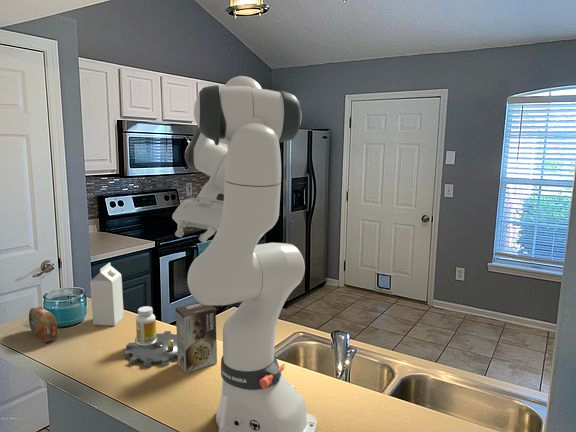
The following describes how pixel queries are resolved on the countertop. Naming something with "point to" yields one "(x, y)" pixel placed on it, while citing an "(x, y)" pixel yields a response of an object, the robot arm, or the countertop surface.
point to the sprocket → (153, 350)
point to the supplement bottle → (145, 325)
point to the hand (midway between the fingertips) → (189, 238)
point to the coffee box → (196, 336)
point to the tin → (43, 324)
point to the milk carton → (107, 297)
